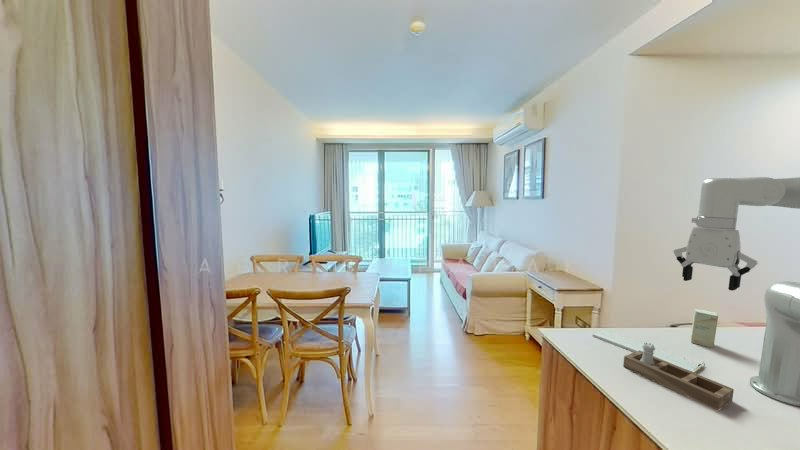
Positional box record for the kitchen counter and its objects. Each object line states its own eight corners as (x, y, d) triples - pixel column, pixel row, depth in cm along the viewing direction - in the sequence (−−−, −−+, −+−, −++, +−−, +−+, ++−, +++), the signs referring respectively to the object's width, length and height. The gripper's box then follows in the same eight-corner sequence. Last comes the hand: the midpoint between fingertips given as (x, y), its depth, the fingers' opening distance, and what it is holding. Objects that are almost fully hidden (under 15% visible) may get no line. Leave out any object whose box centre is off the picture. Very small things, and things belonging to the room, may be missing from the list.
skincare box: (691, 342, 119) (694, 311, 117) (690, 338, 122) (693, 308, 121) (714, 348, 115) (718, 315, 113) (713, 343, 118) (717, 312, 117)
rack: (638, 360, 106) (639, 350, 106) (732, 401, 86) (733, 389, 85) (623, 366, 102) (624, 356, 102) (717, 410, 82) (719, 398, 82)
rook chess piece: (641, 371, 99) (644, 347, 98) (635, 363, 103) (637, 340, 102) (658, 373, 98) (661, 348, 97) (651, 365, 102) (653, 342, 101)
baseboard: (605, 331, 129) (592, 337, 124) (606, 325, 129) (592, 330, 123) (705, 367, 103) (693, 376, 98) (706, 359, 103) (694, 368, 98)
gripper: (671, 221, 93) (665, 278, 95) (756, 228, 78) (746, 296, 80) (684, 220, 96) (678, 275, 98) (768, 226, 81) (759, 292, 83)
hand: (708, 284), depth 89 cm, fingers open, 9 cm apart
